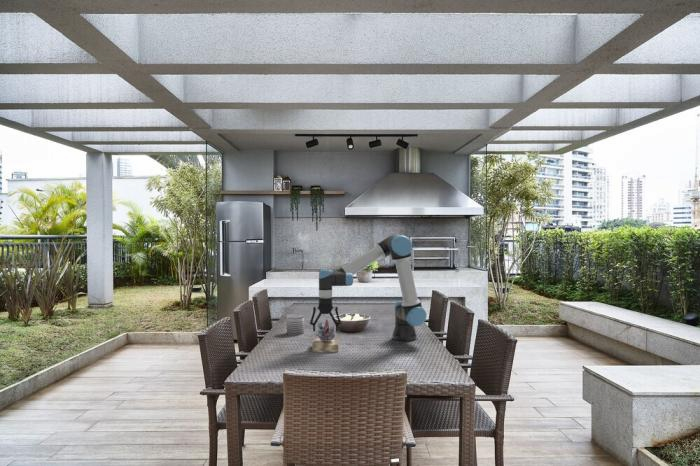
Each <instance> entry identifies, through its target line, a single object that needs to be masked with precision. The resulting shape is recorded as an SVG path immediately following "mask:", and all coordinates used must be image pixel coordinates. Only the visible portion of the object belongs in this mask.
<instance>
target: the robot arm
mask: <svg viewBox="0 0 700 466" xmlns="http://www.w3.org/2000/svg"><path fill="white" fill-rule="evenodd" d="M412 250H413V243H412V240H411V239H410V238H409V237H408V236H405V235H403V234H396V235H395V234H393V235H389V236H387V237H385V238H384V239H383V240H381V241H379V242H378V243H376V244H375V247H373V248H372V249H370V250H368V251H366V252H364V253H363V254H362V255H360V256H358V257H356V258H354V259H353V260H351V261H350V262H348V263H346V264H345V265H343V266H342V267H340V268H338V269H336V270H332V269H320V270H319V271H318V305H317V306H313V307H312V308H313V309H312V315H311V318H310V321H309V325H311V326H312V331H313V332H314V335H315V336H314V337H315V338H314V339H318V338H317V337H318V336H317V334H318V329H317V328H318V324H317V323H318V321H319V320H320V317H321V316H322V315H329V316H330V318H331V320H332V322H334V324H333V327H334V328H333V330H334V338H336V337H337V335H336V334H337V332H339V325H341V324H342V322H341V319H340V315H339V312H338V311H339V309H338V308H339V307H338V306H333V298H332V297H333V287H351V286H353V284H354V275H356V274H357V273H359V272H361V271H362V270H364V269H366V268H367V267H369V266H371V265H372V264H374V263H376V262H377V261H379V260H380V259H385V258H387V257H388V256H390V257H391V260H392V262H394V263H395V268H396V272H397V277H398V283H399V287H400V292H401V297H402V301H401V300H400V301H396V302H395V304H394V328H393V330H392V335H391V338H392V339H393V340H395V341H401V342H403V341H404V342H409V341H416V340H417V339H418V335H417V332H416V327H420V326H422V325H423V324H424V323H425V321H426V320H427V311H426V310H425V309H424V308H423V305H422V300H421V299H419V298H418V294H417V290H416V285H415V278H414V275H413V270H412V265H411V257H412ZM332 310H333V311H335V314H336V315H335V316H336V318H337V320H336V318H335V316H334V315H333V313H332ZM317 311H319V312H318V315H317V317H316V318H315V315H316V312H317ZM314 318H315V320H314Z"/></svg>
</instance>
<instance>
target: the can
mask: <svg viewBox="0 0 700 466" xmlns="http://www.w3.org/2000/svg"><path fill="white" fill-rule="evenodd" d="M286 334H288V335H287V336H303V335H305V314H303V313H294V314H288V315H287V316H286ZM302 334H303V335H302Z"/></svg>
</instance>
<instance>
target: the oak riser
mask: <svg viewBox="0 0 700 466" xmlns="http://www.w3.org/2000/svg"><path fill="white" fill-rule="evenodd" d="M311 352H312V353H339V340H338V338H333V339H332V340H321V339H320V338H313V339H312V351H311Z"/></svg>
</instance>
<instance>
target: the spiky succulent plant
mask: <svg viewBox="0 0 700 466" xmlns="http://www.w3.org/2000/svg"><path fill="white" fill-rule="evenodd" d="M317 323H318V324H317V328H318V329H317V337H318V339H321V340H332V339H335V337H334V328H331V329H330V325H329V322H328V319H327V318H326V319H325V323H324V325H323V324H322V322H317Z"/></svg>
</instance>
